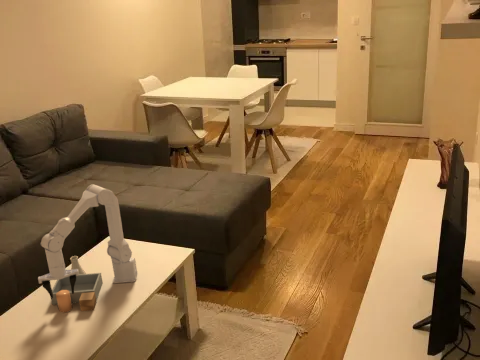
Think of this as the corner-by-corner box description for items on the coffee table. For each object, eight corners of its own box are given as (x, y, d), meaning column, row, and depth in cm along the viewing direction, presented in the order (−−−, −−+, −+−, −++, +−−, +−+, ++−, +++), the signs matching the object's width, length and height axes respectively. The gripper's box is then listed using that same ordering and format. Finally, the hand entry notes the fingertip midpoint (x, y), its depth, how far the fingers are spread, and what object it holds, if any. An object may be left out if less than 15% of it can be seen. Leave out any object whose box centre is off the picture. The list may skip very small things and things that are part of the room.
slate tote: (102, 283, 219) (100, 272, 217) (96, 301, 207) (94, 290, 205) (61, 286, 219) (58, 276, 217) (52, 304, 206) (49, 294, 204)
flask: (81, 283, 220) (77, 262, 217) (66, 282, 222) (61, 261, 218) (89, 273, 227) (85, 253, 223) (74, 273, 228) (70, 253, 225)
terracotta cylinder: (73, 304, 206) (70, 289, 203) (70, 312, 201) (67, 296, 199) (61, 305, 206) (57, 290, 203) (57, 313, 201) (54, 297, 198)
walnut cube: (96, 302, 206) (94, 292, 204) (94, 310, 201) (92, 299, 200) (84, 303, 206) (81, 293, 204) (81, 311, 201) (78, 300, 199)
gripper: (75, 255, 202) (81, 285, 206) (36, 262, 198) (43, 293, 203) (76, 263, 195) (82, 294, 200) (35, 271, 191) (42, 303, 196)
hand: (62, 294), depth 201 cm, fingers open, 7 cm apart
